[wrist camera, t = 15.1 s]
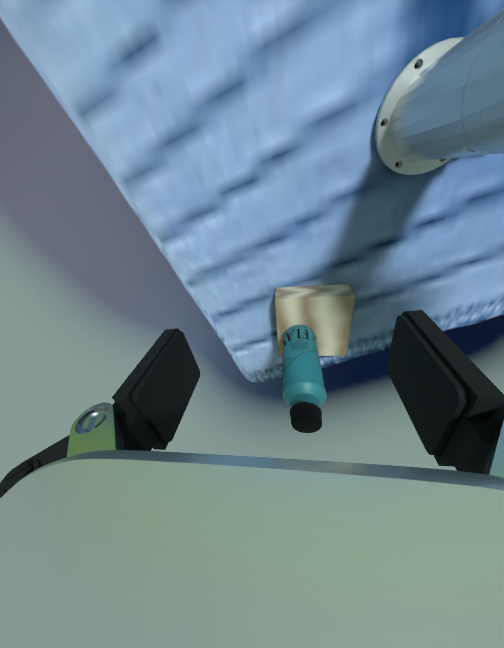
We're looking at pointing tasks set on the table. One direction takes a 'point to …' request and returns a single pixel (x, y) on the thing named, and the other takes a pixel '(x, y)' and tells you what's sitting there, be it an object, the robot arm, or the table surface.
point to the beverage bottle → (303, 378)
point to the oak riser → (317, 314)
